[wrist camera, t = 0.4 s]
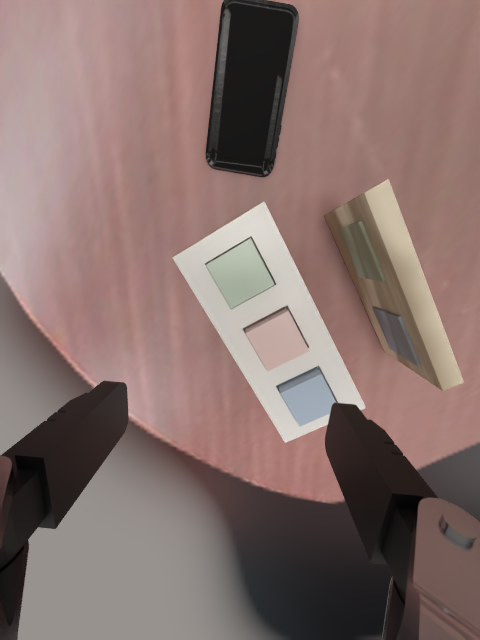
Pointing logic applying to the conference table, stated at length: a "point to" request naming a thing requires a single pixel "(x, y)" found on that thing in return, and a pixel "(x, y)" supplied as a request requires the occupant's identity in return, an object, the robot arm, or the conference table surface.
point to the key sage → (240, 274)
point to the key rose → (276, 339)
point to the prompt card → (393, 284)
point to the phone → (250, 84)
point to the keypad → (283, 293)
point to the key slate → (307, 396)
